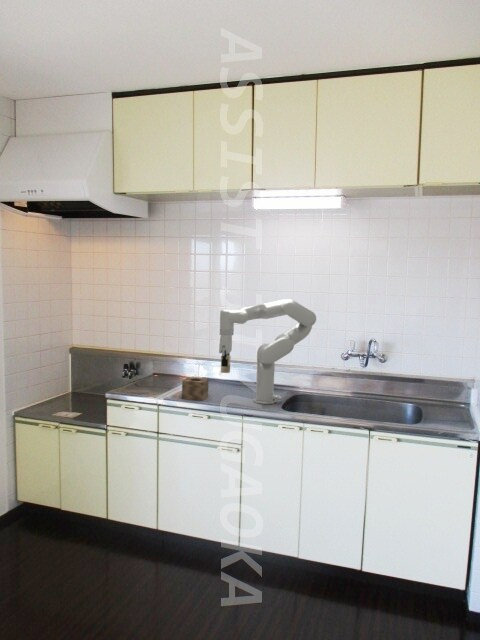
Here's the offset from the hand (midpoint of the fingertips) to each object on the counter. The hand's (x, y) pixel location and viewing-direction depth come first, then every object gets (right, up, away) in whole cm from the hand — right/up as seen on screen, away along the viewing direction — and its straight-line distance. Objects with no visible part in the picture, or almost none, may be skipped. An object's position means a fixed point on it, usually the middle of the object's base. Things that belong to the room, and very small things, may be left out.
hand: (225, 365), depth 281 cm
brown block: (-17, -18, +6) cm, 26 cm away
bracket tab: (0, -4, 0) cm, 4 cm away
